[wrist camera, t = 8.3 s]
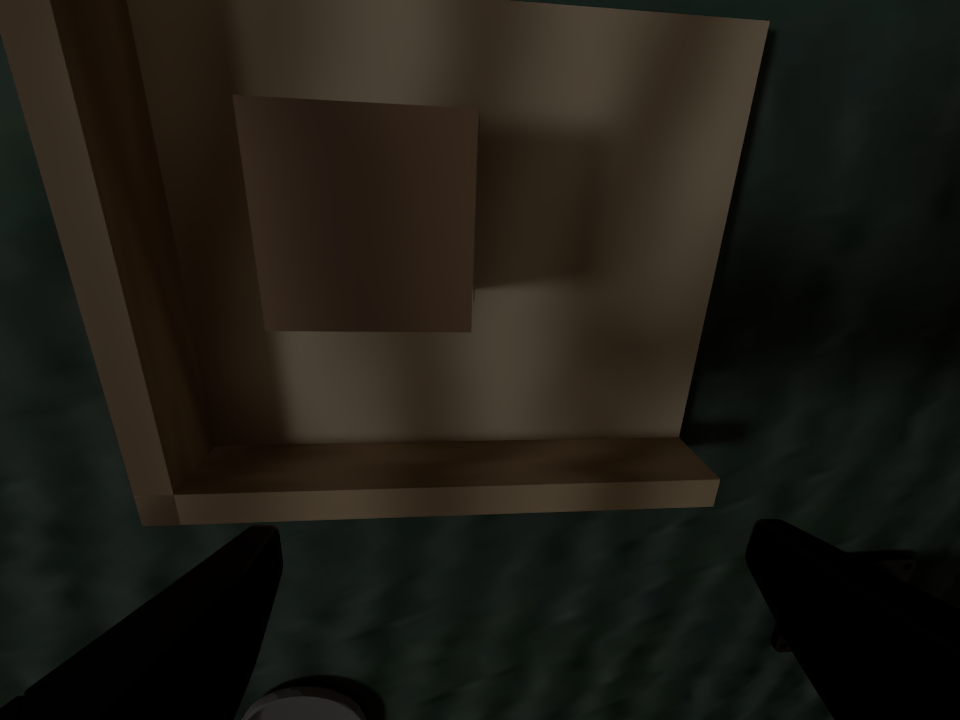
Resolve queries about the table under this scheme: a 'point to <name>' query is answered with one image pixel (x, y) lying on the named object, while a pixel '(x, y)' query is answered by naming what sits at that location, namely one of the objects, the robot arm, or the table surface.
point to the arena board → (496, 266)
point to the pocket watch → (305, 705)
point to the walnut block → (360, 213)
